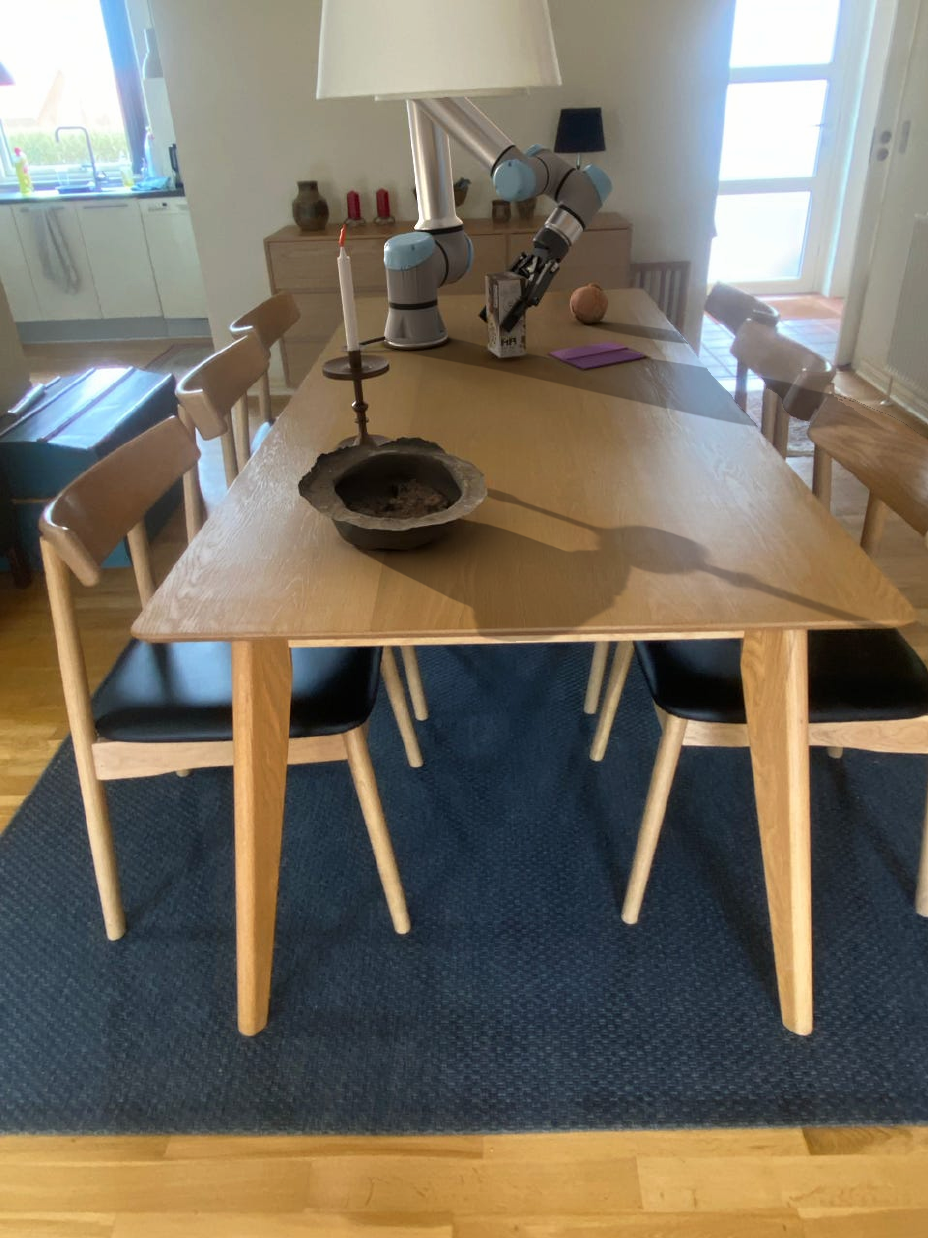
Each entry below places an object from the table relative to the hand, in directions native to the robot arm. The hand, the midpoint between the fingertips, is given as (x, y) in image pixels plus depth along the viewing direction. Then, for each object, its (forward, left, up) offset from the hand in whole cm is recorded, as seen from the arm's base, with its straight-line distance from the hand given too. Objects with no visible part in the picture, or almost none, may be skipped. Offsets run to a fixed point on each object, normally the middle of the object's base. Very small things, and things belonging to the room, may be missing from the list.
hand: (493, 324), depth 180 cm
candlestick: (-44, -36, -8) cm, 58 cm away
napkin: (+20, -11, -7) cm, 24 cm away
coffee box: (+3, 0, -7) cm, 7 cm away
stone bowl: (-50, -67, -8) cm, 84 cm away
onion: (+35, +16, -8) cm, 39 cm away
